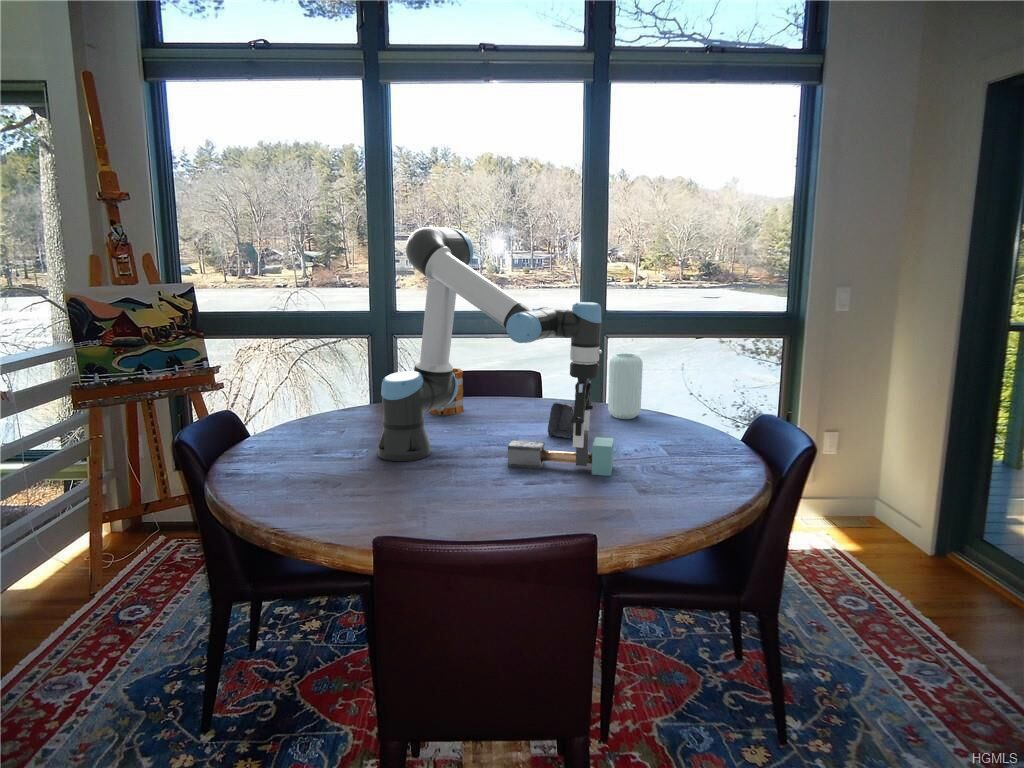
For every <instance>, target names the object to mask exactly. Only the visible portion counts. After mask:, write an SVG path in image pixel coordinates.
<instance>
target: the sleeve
mask: <svg viewBox="0 0 1024 768" xmlns="http://www.w3.org/2000/svg"><path fill="white" fill-rule="evenodd" d="M541 450H545V441H537V440H536V441H535V440H520V439H512V440H511V441H510V443H509V444H508V445H507V468H516V469H517V468H519V469H529V470H530V469H531V470H532V469H533V470H541V469H542V467H543V465H544V463H545V461H541Z"/></svg>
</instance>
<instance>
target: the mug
mask: <svg viewBox="0 0 1024 768" xmlns="http://www.w3.org/2000/svg"><path fill="white" fill-rule="evenodd" d="M453 373H454V374H455V378H456V379H457V381H458V391H457V394H456V397H455V398H454V400H453V401H452V402H450V403H449V404H447V405H445V406H444V407H442V408H439V409H434V410H431V411H428V412H429V414H432V415H439V416H448V415H449V416H451V415H458V414H461V413H463V412H464V411H465V410H464V409H465V408H464V382H463V379H464V378H463V376H464V371H463V370H462V369H461V368H454V367H453Z"/></svg>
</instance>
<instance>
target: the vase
mask: <svg viewBox="0 0 1024 768" xmlns="http://www.w3.org/2000/svg"><path fill="white" fill-rule="evenodd" d="M608 367H609V369H608V371H609V372H608V373H609V374H608V395H607V396H608V399H607V401H608V402H607V409H608V412H609V414H610V415H611V416H612V417H614V418H615V419H619V420H631V419H635V418H636V417H637V416H638V415H639V414H640V413H641V410H642V409H641V408H642V389H643V388H642V387H643V360H642V358H641V357H640V356H638V354H635V353H627V352H626V353H623V352H622V353H617V354H616V353H615V355H613V356H612V357H611V358H610V360H609V366H608Z"/></svg>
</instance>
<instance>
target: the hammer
mask: <svg viewBox="0 0 1024 768" xmlns="http://www.w3.org/2000/svg"><path fill="white" fill-rule="evenodd" d="M589 445H590V430H589V431H588V430H584V444H583V448H580V447H575V451H563V450H560V451H559V450H549V449H544V450H541V461H544V462H548V463H549V462H551V463H552V462H553V463H562V464H563V463H564V464H565V463H567V464H575V466H580V467H581V466H582V467H588V465H591V466H592V452H589V450H590V449H589V447H590V446H589Z"/></svg>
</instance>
